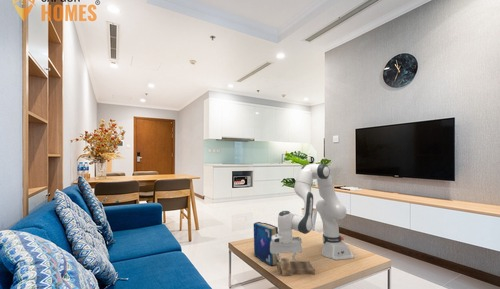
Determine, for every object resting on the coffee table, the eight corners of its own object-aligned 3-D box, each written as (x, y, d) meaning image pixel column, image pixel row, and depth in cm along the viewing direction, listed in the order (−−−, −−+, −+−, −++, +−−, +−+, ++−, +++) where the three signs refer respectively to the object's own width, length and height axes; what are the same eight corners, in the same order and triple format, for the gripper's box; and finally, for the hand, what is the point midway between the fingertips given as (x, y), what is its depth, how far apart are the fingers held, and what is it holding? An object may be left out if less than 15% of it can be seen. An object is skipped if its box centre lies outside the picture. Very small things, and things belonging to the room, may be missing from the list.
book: (252, 255, 172) (252, 221, 173) (260, 253, 176) (259, 220, 177) (271, 267, 154) (271, 229, 156) (279, 264, 159) (278, 227, 160)
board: (309, 265, 157) (309, 261, 157) (314, 274, 145) (314, 270, 145) (276, 265, 156) (276, 261, 157) (279, 274, 144) (279, 270, 145)
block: (288, 269, 150) (288, 258, 151) (290, 275, 143) (290, 263, 143) (280, 269, 150) (280, 258, 150) (282, 275, 143) (282, 263, 143)
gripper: (300, 235, 151) (301, 256, 151) (269, 236, 151) (269, 257, 150) (302, 238, 145) (303, 261, 144) (270, 239, 144) (270, 262, 144)
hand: (286, 259), depth 147 cm, fingers open, 8 cm apart
